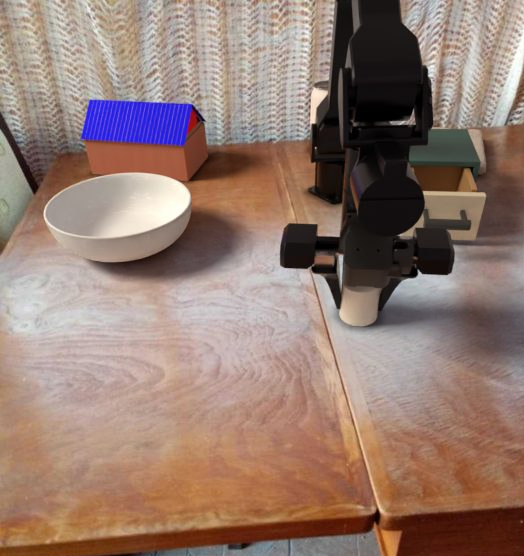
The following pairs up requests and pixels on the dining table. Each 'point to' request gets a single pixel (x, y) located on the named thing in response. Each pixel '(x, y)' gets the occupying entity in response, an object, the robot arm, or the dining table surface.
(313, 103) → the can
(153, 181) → the serving bowl
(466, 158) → the cabinet
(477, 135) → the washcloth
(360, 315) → the toilet paper roll
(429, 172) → the drawer
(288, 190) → the dining table surface
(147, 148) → the house
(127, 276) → the dining table surface
